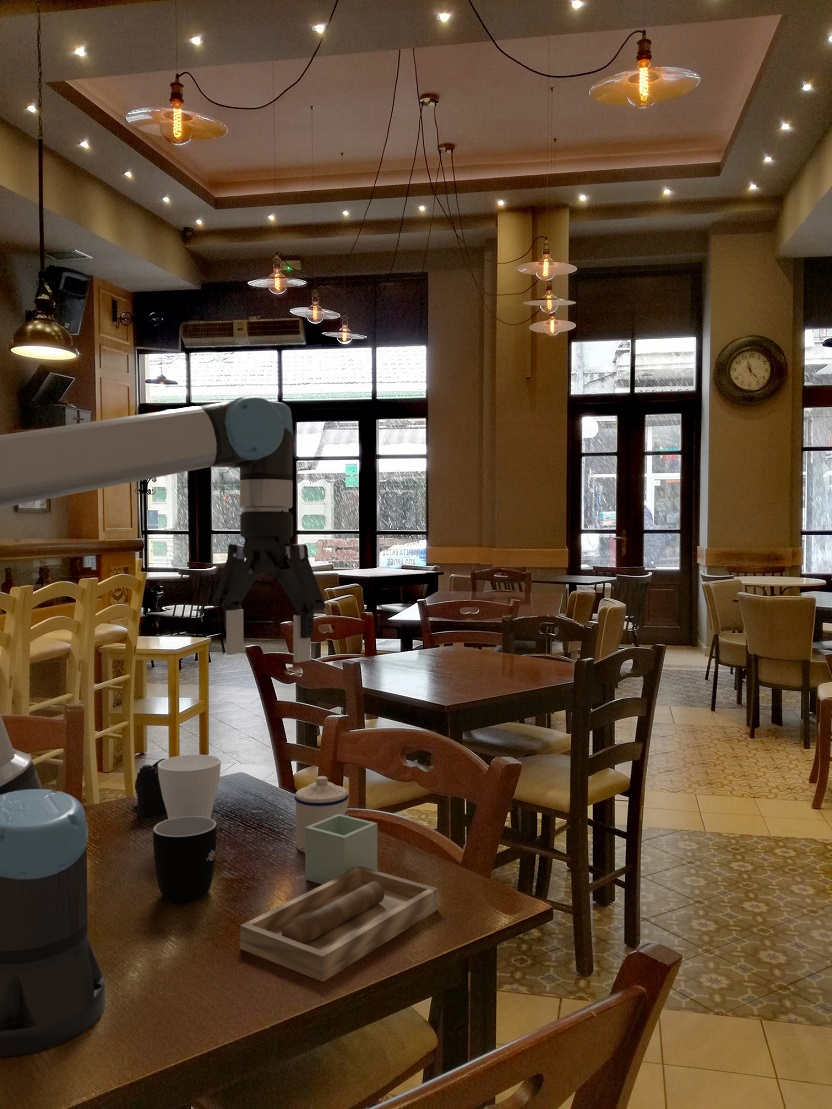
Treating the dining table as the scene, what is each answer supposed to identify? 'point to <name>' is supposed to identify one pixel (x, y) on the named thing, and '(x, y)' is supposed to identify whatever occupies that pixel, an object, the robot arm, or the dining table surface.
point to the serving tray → (346, 940)
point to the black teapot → (149, 792)
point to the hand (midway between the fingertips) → (267, 657)
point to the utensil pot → (339, 847)
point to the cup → (189, 784)
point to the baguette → (334, 913)
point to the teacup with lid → (318, 805)
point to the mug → (185, 857)
